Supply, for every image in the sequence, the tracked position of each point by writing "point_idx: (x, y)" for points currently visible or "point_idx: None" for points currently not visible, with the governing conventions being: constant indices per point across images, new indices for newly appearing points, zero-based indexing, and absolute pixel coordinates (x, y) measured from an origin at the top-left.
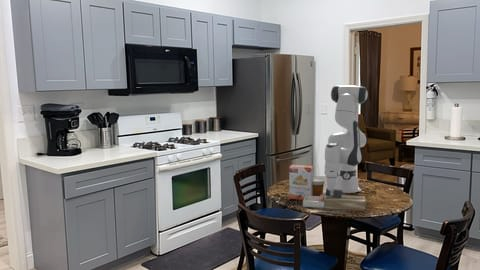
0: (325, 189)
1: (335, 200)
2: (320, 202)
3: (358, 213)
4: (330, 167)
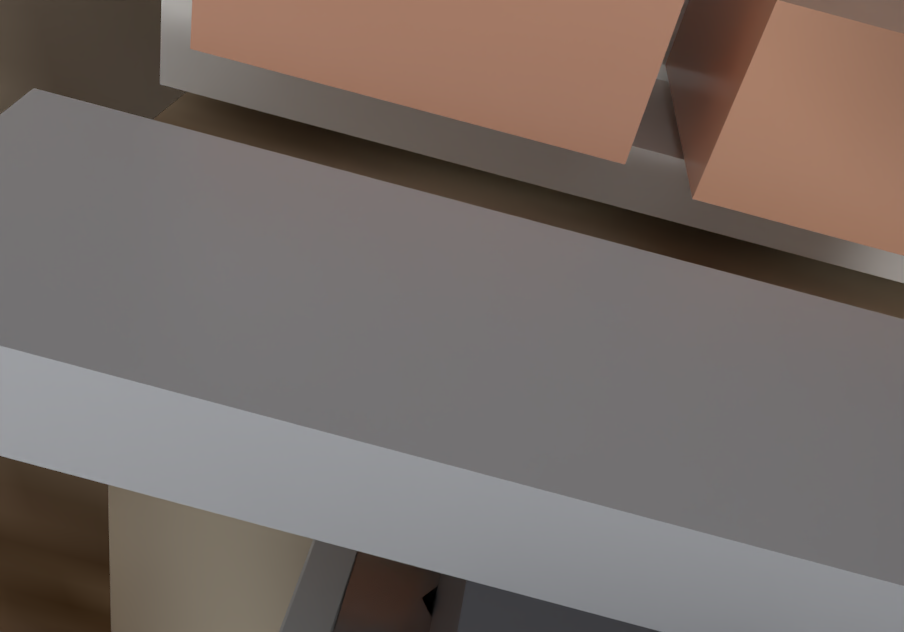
0: (787, 617)
1: (114, 502)
2: None
3: (6, 624)
4: None
